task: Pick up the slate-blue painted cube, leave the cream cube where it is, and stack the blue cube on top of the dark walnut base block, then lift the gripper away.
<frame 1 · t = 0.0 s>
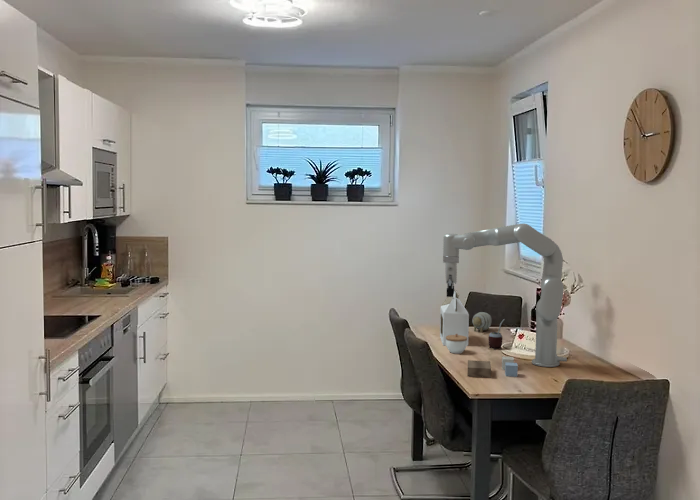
hand: (450, 295, 315), 31 cm above the table, tool pointing down, fingers open, 9 cm apart
walnut base block: (478, 373, 293), on the table
mate gourd: (495, 348, 341), on the table
cream block: (507, 368, 301), on the table
lidded jar: (456, 352, 332), on the table
slate blue block: (511, 375, 290), on the table
gable box: (453, 341, 357), on the table
toy sheep: (482, 331, 385), on the table
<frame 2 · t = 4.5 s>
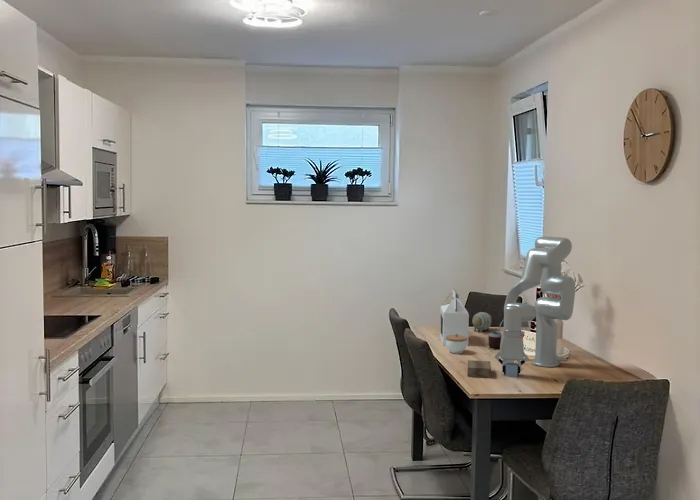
hand: (511, 373, 290), 0 cm above the table, tool pointing down, fingers closed on slate blue block, 5 cm apart
slate blue block: (511, 375, 290), on the table, touching gripper
everything else where it was.
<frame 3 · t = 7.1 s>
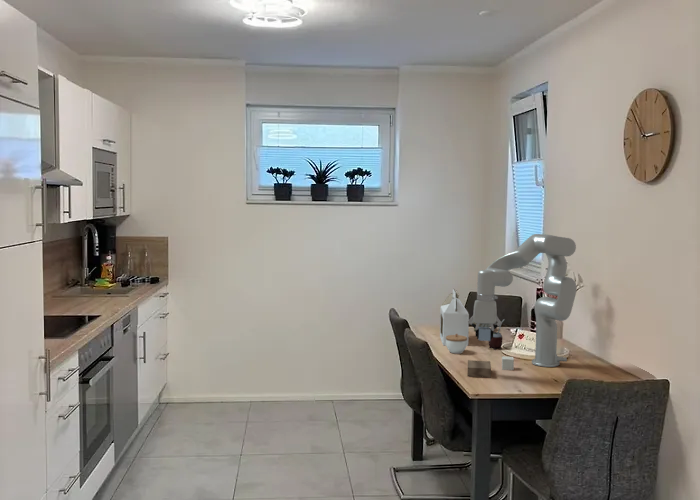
hand: (484, 338, 291), 16 cm above the table, tool pointing down, fingers closed on slate blue block, 4 cm apart
slate blue block: (484, 339, 291), point 15 cm above the table, touching gripper
everything else where it was.
when the fingers open (6 cm above the table, at t = 9.9 s): slate blue block drops 1 cm, resting on walnut base block.
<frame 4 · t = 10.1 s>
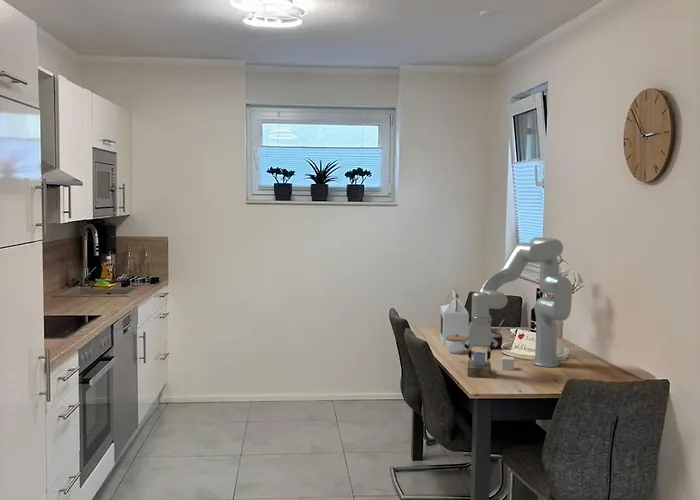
hand: (479, 359, 292), 6 cm above the table, tool pointing down, fingers open, 7 cm apart
slate blue block: (479, 364, 293), point 4 cm above the table, touching walnut base block
everything else where it was.
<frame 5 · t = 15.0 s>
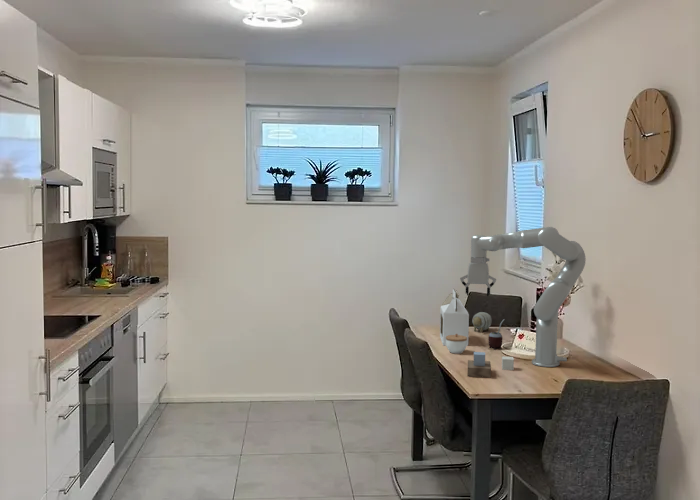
hand: (477, 295, 321), 30 cm above the table, tool pointing down, fingers open, 9 cm apart
nothing on the table moved.
at the end: slate blue block 0.1 cm off-centre on the walnut base block, point 4.0 cm above the walnut base block's base; slate blue block tilted 0°; the gripper is holding nothing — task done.
